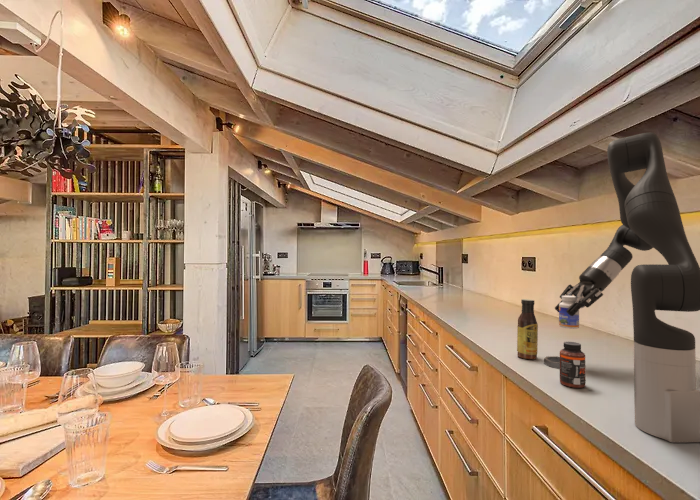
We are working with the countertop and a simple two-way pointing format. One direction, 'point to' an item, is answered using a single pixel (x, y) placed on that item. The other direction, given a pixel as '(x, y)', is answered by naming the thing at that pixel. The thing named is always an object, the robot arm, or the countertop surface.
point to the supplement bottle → (572, 365)
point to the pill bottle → (564, 317)
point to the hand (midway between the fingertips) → (563, 312)
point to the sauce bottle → (527, 331)
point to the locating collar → (552, 361)
